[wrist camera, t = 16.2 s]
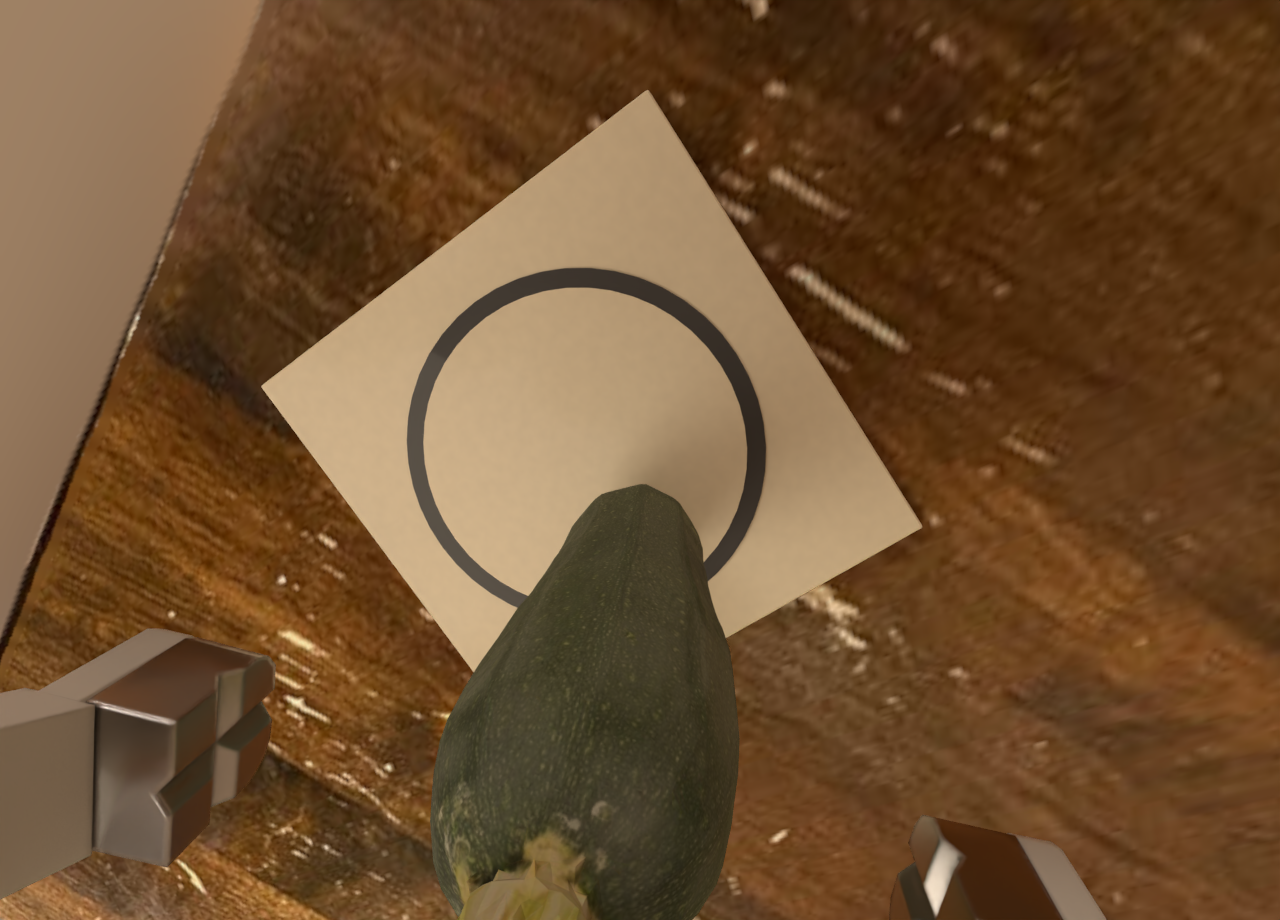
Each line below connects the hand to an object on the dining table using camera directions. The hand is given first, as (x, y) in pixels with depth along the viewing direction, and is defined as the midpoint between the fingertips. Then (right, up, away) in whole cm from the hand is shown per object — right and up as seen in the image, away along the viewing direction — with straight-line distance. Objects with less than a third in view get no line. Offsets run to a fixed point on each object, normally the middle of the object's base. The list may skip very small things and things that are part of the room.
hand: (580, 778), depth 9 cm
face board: (-1, +4, +15) cm, 16 cm away
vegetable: (+1, +2, +15) cm, 15 cm away
